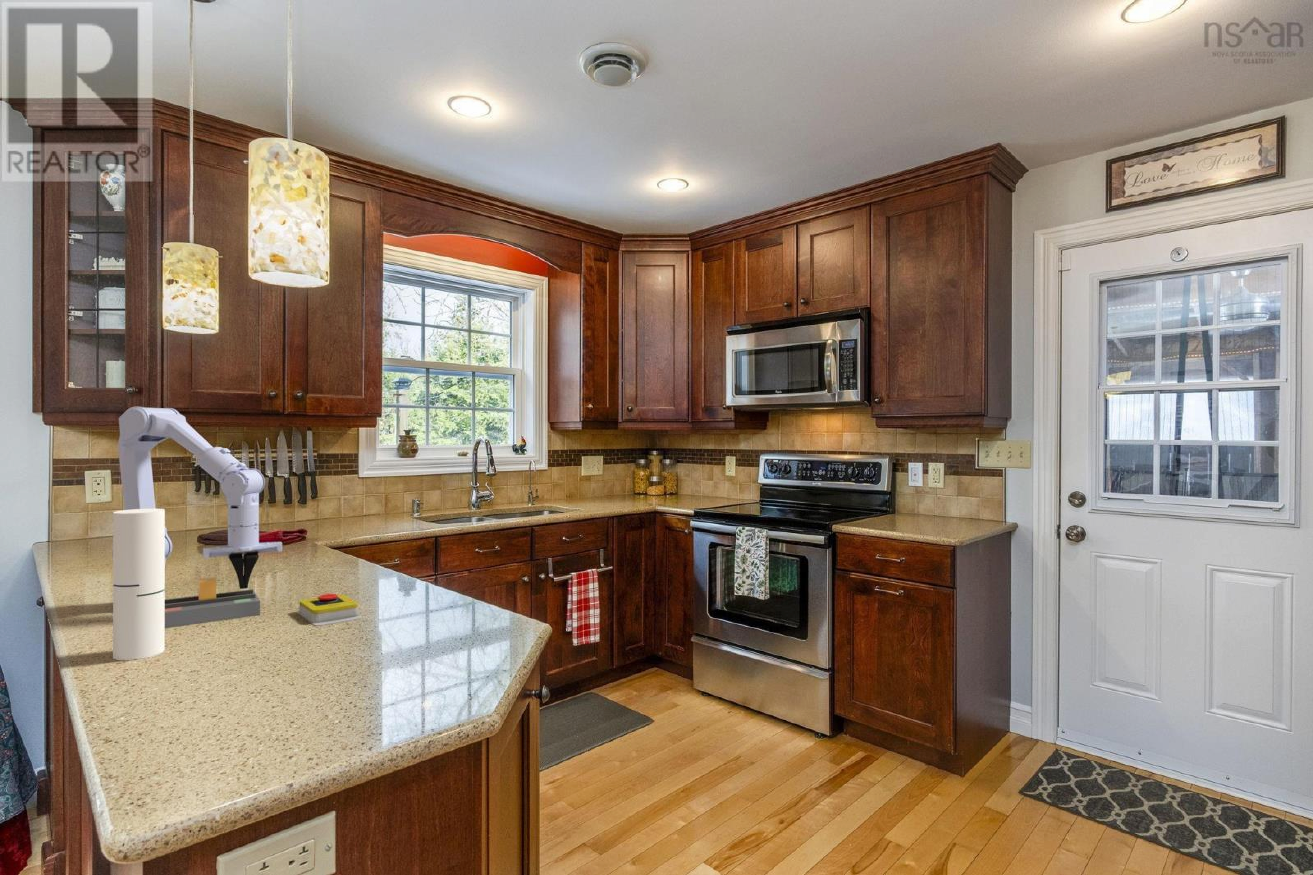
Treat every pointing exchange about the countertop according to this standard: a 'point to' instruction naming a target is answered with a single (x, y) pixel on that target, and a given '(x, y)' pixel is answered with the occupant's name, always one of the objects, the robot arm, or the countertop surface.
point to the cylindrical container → (138, 583)
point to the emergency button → (329, 609)
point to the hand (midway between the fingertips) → (243, 587)
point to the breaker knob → (206, 588)
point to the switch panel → (211, 608)
